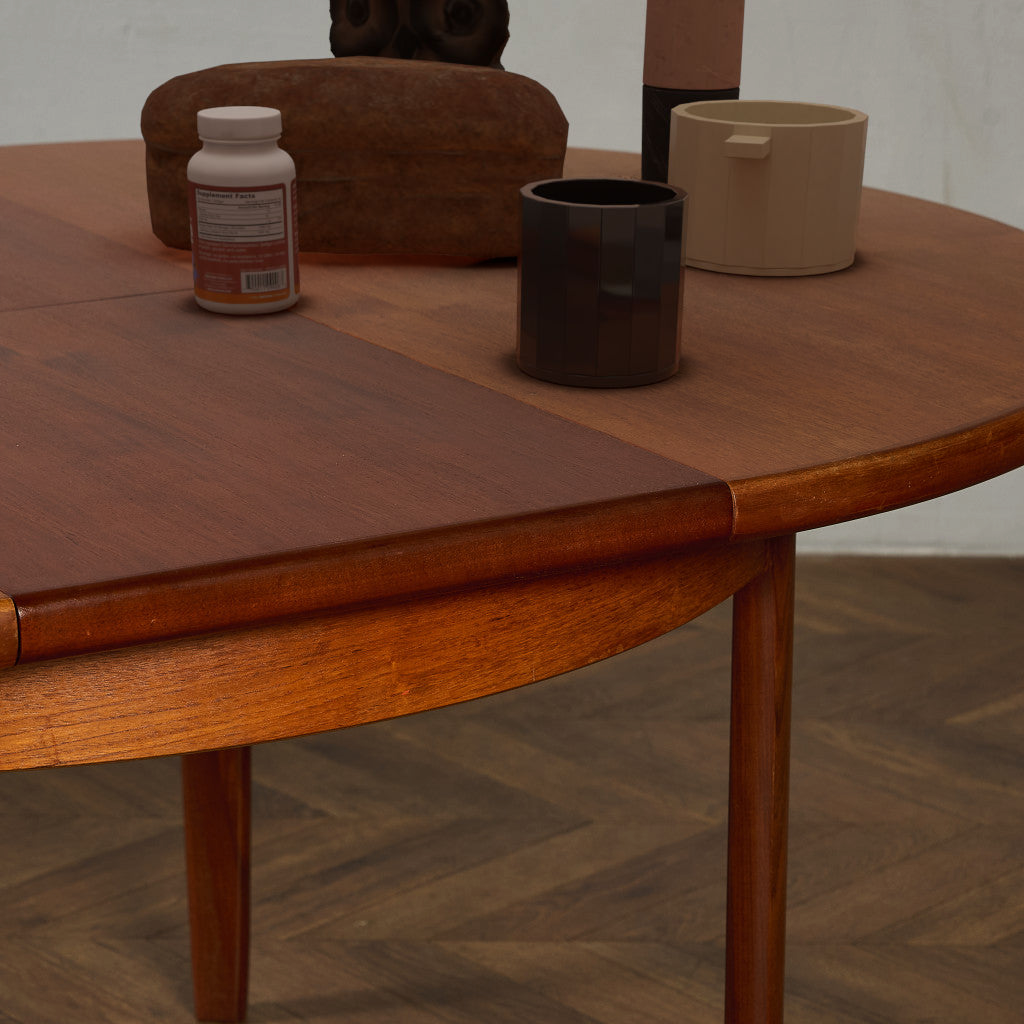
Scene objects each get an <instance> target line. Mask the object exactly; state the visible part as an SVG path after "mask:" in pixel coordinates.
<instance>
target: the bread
mask: <svg viewBox="0 0 1024 1024" xmlns="http://www.w3.org/2000/svg"><path fill="white" fill-rule="evenodd" d="M234 106H254V107H266V108H272V109H276V110H279V111H280V113H281V126H282V132H281V133H280V135H281V137H280V138H279V139H278V140H277V145H278V148H279V149H281V150H283V151H285V152H286V153H287V154H288V155H289V156H290V157H291V158H292V160H293V162H294V165H295V173H296V194H297V222H298V249H299V253H309V254H311V253H312V254H313V253H314V254H324V255H326V254H327V255H341V256H343V255H345V256H368V255H369V256H371V255H372V256H373V255H443V256H457V257H469V258H471V257H472V258H483V259H489V258H490V259H491V258H511V257H518V203H519V189H521V188H522V187H524V186H525V185H527V184H529V183H534V182H539V181H543V180H550V179H561V178H564V168H565V167H564V166H565V160H566V154H567V148H568V138H569V130H570V123H569V121H568V119H567V117H566V115H565V113H564V111H563V109H562V107H561V105H560V104H559V101H558V100H557V98H556V96H555V95H554V93H552V92H551V90H549V89H548V88H547V87H546V86H544V85H543V84H542V83H541V82H539V81H538V80H535V79H533V78H531V77H529V76H526V75H523V74H520V73H516V72H512V71H508V70H505V71H504V70H500V69H493V68H490V67H482V66H472V65H463V64H454V63H444V62H434V61H422V60H405V59H395V58H385V57H371V56H353V57H339V58H335V57H325V58H302V59H300V58H299V59H298V58H297V59H283V60H282V59H279V60H266V61H265V60H263V61H247V62H246V61H244V62H234V63H223V64H220V65H215V66H212V67H208V68H204V69H203V68H202V69H199V70H196V71H192V72H188V73H184V74H180V75H175V76H174V77H172V78H170V79H168V80H167V81H165V82H164V83H162V84H160V85H159V86H157V87H156V88H154V89H153V90H152V91H151V92H150V93H149V95H148V96H147V98H146V99H145V102H144V104H143V106H142V109H141V113H140V125H139V126H140V133H141V136H142V138H143V141H144V145H145V160H144V161H145V175H146V176H145V177H146V192H147V199H148V208H149V215H150V216H149V217H150V223H151V224H150V225H151V230H152V234H153V235H154V236H155V237H156V238H157V239H158V240H159V241H160V242H161V243H162V244H163V245H164V246H165V247H167V248H171V249H175V250H179V251H186V252H192V247H191V230H190V214H189V198H188V180H187V167H188V163H189V161H190V159H191V158H192V157H193V155H194V154H196V153H197V152H198V151H200V150H202V148H203V141H202V140H200V139H199V134H198V126H197V114H198V112H199V111H201V110H205V109H210V108H218V107H234Z"/></svg>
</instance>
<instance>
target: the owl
mask: <svg viewBox="0 0 1024 1024" xmlns="http://www.w3.org/2000/svg"><path fill="white" fill-rule="evenodd" d="M328 1H329V9H328V12H329V16H330V17H329V18H330V21H331V24H330V28H329V35H328V40H329V45H330V48H329V50H330V52H331V53H332V56H333V57H334V58H339V57H353V56H371V57H385V58H395V59H405V60H422V61H434V62H444V63H454V64H463V65H472V66H482V67H490V68H493V69H500V70H504V71H506V68H505V66H504V65H503V64H502V62H501V59H502V57H503V54H504V51H505V48H506V46H507V44H508V42H509V40H510V38H511V33H510V30H509V25H510V18H511V13H510V9H509V2H508V0H328Z"/></svg>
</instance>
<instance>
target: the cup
mask: <svg viewBox="0 0 1024 1024" xmlns="http://www.w3.org/2000/svg"><path fill="white" fill-rule="evenodd" d="M688 207H689V194H688V193H687V192H686V191H685V190H683V189H682V188H679V187H676V186H672V185H669V184H665V183H660V182H653V181H646V180H641V179H638V178H626V177H612V176H611V177H610V176H606V177H605V176H585V177H583V176H579V177H576V176H575V177H563V178H561V179H550V180H543V181H539V182H534V183H529V184H527V185H525V186H524V187H522V188H521V189H519V203H518V256H517V272H516V275H517V276H516V332H515V335H516V337H515V346H516V347H515V351H516V363H517V366H518V368H519V369H520V370H521V371H522V372H523V373H525V374H527V375H528V376H531V377H533V378H536V379H538V380H542V381H545V382H549V383H553V384H559V385H565V386H570V387H571V386H572V387H579V388H580V387H582V388H597V389H608V388H609V389H610V388H611V389H613V388H614V389H615V388H616V389H617V388H631V387H638V386H639V387H640V386H645V385H650V384H654V383H658V382H661V381H664V380H667V379H669V378H671V377H673V376H674V375H675V374H676V373H677V372H678V370H679V363H680V357H681V354H682V353H681V352H682V334H683V333H682V332H683V319H684V318H683V316H684V298H685V297H684V295H685V278H686V265H685V262H686V244H687V225H688Z"/></svg>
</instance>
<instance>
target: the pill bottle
mask: <svg viewBox="0 0 1024 1024" xmlns="http://www.w3.org/2000/svg"><path fill="white" fill-rule="evenodd" d="M197 126H198V134H199V139H200V140H202V141H203V148H202V150H200V151H198V152H197V153H196V154H194V155H193V157H192V158H191V159H190V161H189V163H188V167H187V180H188V198H189V214H190V230H191V247H192V251H191V261H192V262H191V263H192V275H193V276H192V279H193V292H194V299H195V302H196V303H197V305H199V306H200V307H201V308H203V309H205V310H207V311H209V312H213V313H218V314H225V315H261V314H262V315H263V314H270V313H276V312H280V311H283V310H286V309H288V308H290V307H292V306H294V305H295V304H296V303H297V302H298V301H299V299H300V296H301V295H300V294H301V277H300V276H301V275H300V252H299V249H298V222H297V194H296V173H295V165H294V162H293V160H292V158H291V157H290V156H289V155H288V154H287V153H286V152H285V151H283V150H281V149H279V148H278V145H277V140H278V139H279V138H280V137H281V135H280V133H281V132H282V126H281V113H280V111H279V110H276V109H272V108H266V107H254V106H234V107H218V108H210V109H205V110H201V111H199V112H198V114H197Z"/></svg>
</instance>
